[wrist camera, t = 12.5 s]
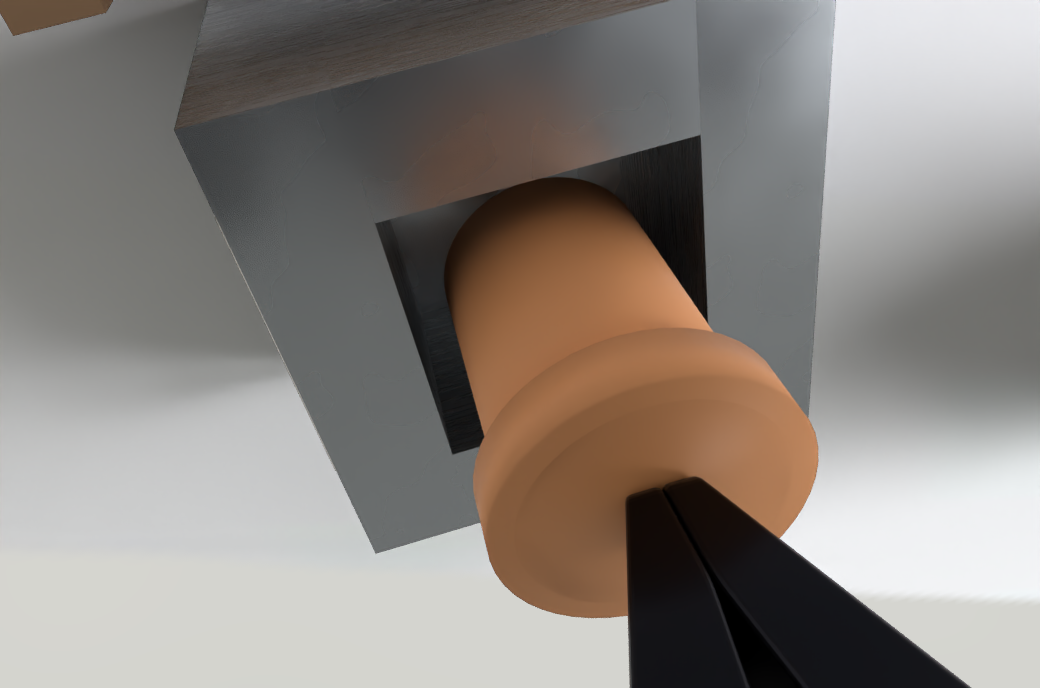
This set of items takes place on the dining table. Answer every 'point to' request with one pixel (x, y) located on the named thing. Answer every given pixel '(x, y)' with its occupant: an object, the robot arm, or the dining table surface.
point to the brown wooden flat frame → (47, 12)
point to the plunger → (602, 393)
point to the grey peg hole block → (495, 190)
